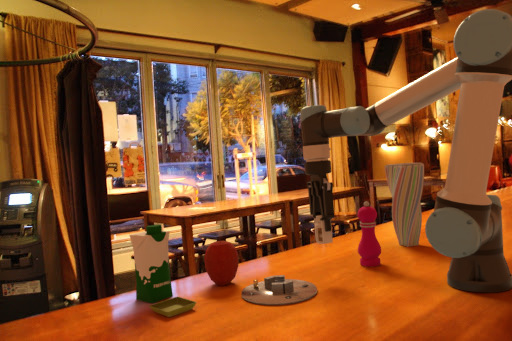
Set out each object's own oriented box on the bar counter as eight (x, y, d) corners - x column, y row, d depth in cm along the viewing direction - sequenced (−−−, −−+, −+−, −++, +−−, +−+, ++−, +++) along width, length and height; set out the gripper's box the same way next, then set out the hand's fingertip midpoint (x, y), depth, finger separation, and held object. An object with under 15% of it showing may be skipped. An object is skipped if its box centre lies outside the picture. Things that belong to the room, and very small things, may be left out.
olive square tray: (148, 313, 112) (148, 305, 112) (178, 303, 118) (177, 296, 118) (167, 321, 106) (167, 312, 106) (198, 310, 112) (197, 302, 112)
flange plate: (329, 297, 113) (328, 283, 113) (252, 310, 108) (251, 295, 108) (300, 278, 133) (300, 266, 133) (234, 288, 127) (233, 275, 127)
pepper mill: (383, 266, 139) (379, 202, 138) (359, 267, 140) (354, 203, 140) (381, 261, 146) (377, 199, 145) (358, 261, 147) (354, 200, 147)
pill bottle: (320, 244, 127) (317, 217, 127) (314, 242, 131) (311, 215, 131) (334, 242, 128) (332, 215, 128) (328, 240, 132) (325, 214, 132)
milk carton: (151, 305, 117) (145, 228, 117) (131, 300, 123) (125, 227, 122) (177, 295, 124) (172, 223, 123) (156, 291, 130) (151, 222, 129)
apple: (246, 284, 131) (243, 236, 130) (214, 291, 126) (211, 241, 125) (231, 277, 140) (227, 232, 139) (200, 283, 135) (197, 237, 134)
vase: (436, 245, 163) (431, 162, 162) (406, 250, 158) (401, 165, 157) (410, 239, 176) (406, 162, 175) (382, 244, 171) (377, 165, 170)
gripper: (342, 158, 122) (350, 244, 122) (317, 160, 139) (323, 235, 139) (317, 160, 120) (324, 248, 120) (294, 162, 137) (301, 238, 137)
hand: (324, 241), depth 130 cm, fingers closed on pill bottle, 4 cm apart
